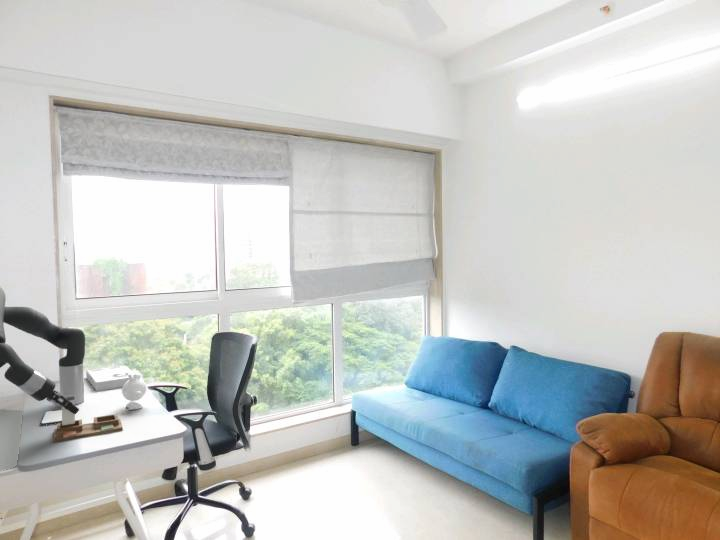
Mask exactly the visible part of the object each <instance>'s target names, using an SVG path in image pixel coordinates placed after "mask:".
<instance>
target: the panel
mask: <svg viewBox="0 0 720 540" xmlns="http://www.w3.org/2000/svg"><path fill="white" fill-rule="evenodd" d="M119 431H120V432H121V431H123V425H122V421H121V418H119V417H118V414H117V413H115V414H106V415H101V416H95V417H93V422H90V423H89V422H88V423H83V419H82V418H81V419H77V420H76V419H75V423H74V424H68V425H62V423H57V424H56V428H54V429H53V437H52V440H53V443H57V442H63V441H70V440H74V439H75V440H76V439H80V438H86V437H92V435H93V436H97V435H103V434H108V433H109V432H110V433H115V432H119ZM110 433H109V434H110Z"/></svg>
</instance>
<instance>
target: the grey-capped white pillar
mask: <svg viewBox="0 0 720 540" xmlns="http://www.w3.org/2000/svg"><path fill="white" fill-rule="evenodd" d="M62 396H64V397H65V398H67V400H68V401H70V402H72V405H74V406H75V405H76V404H75V402H74V394H69V395H62ZM67 404H68V403H66V405H67ZM66 405H65V406H66ZM75 407H76V406H75ZM61 410H62V425H68V424H74V423H75V420H76V418H75V417H76V416H75V415H76V414H73V413H72V412H70V411H69V410H67V409H65V408H64V407H61Z"/></svg>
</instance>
